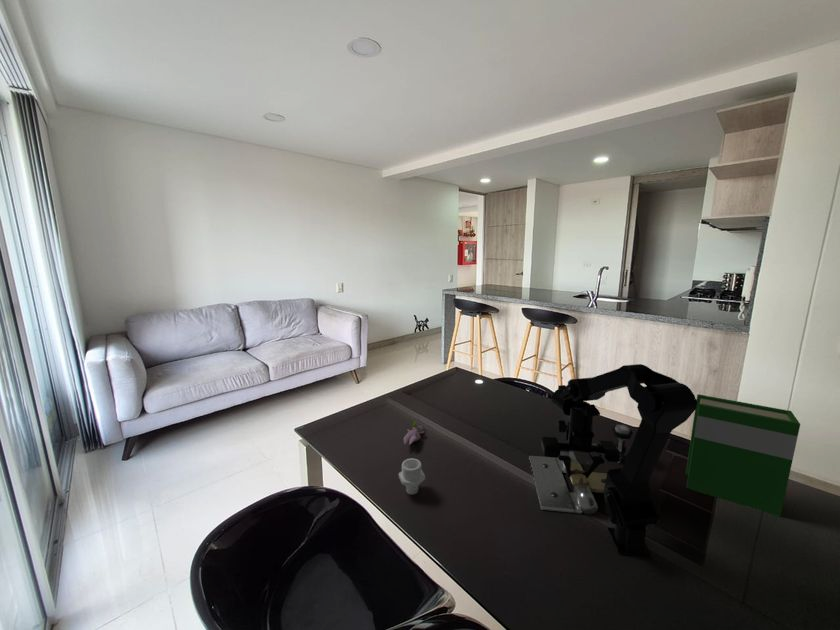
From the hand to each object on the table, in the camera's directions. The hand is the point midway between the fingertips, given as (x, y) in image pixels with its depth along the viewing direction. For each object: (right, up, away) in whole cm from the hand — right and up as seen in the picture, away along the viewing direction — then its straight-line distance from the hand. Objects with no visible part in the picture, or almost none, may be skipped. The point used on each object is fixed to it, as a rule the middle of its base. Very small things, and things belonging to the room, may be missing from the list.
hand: (577, 477), depth 93 cm
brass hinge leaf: (+5, -2, 0) cm, 5 cm away
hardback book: (+38, -3, -4) cm, 38 cm away
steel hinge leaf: (-4, -2, +1) cm, 5 cm away
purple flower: (-45, +1, +24) cm, 51 cm away
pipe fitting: (-45, -4, 0) cm, 45 cm away
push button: (+18, 0, +12) cm, 21 cm away
